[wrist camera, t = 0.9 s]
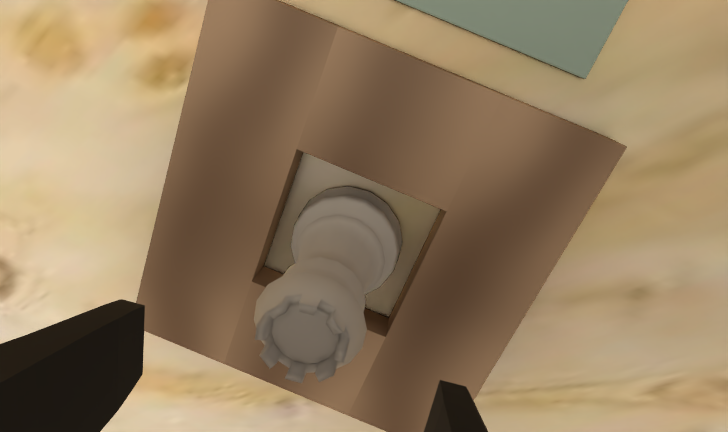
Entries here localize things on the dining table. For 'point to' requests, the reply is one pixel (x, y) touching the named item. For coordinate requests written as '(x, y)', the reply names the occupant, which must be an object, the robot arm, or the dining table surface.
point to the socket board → (380, 164)
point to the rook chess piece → (327, 283)
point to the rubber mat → (535, 26)
